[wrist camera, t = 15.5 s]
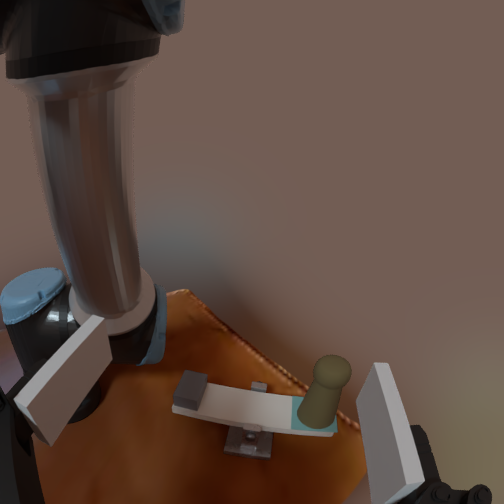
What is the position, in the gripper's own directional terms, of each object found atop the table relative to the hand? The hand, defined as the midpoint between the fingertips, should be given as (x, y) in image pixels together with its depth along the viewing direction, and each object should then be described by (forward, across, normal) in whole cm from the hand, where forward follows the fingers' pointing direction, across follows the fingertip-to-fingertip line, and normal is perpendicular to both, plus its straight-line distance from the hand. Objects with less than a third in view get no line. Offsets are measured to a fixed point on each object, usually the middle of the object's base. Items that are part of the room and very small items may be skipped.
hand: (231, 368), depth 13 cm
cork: (+19, +12, -26) cm, 35 cm away
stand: (+20, +2, -32) cm, 38 cm away
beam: (+20, +2, -27) cm, 33 cm away
